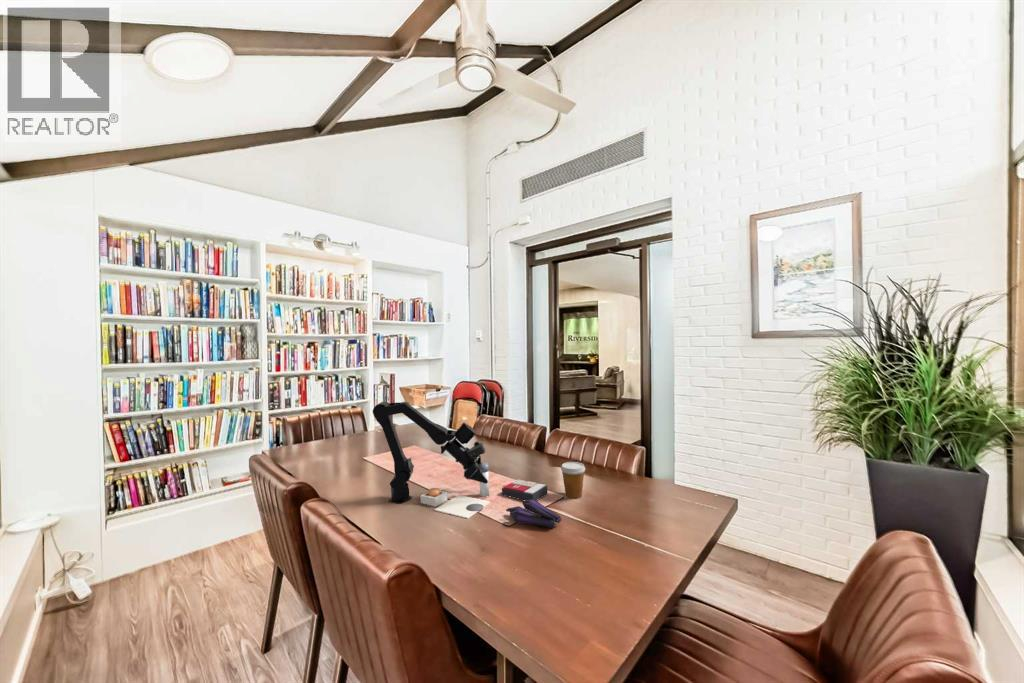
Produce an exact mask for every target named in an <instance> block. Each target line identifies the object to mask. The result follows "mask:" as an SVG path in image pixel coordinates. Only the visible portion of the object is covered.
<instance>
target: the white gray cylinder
mask: <svg viewBox="0 0 1024 683" xmlns="http://www.w3.org/2000/svg"><path fill="white" fill-rule="evenodd" d="M479 466H480V472H481V473H482V474H483V475H484V477H485V478H486V479H487V480H488V483H487V484H485V483H482V482H479V497H481V496H482V497H481V498H487V497H486V496H488V497H489V496H490V479H489V478H490V477H489V476H490V475H489V471H490V469H489V463H488V462H481V463H480V464H479Z"/></svg>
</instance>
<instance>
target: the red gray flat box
mask: <svg viewBox="0 0 1024 683" xmlns="http://www.w3.org/2000/svg"><path fill="white" fill-rule="evenodd" d="M501 493H502V494H503V495H502V494H501V495H502V496H504V495H507V496H506V497H508V496H511V497H510V498H512V497H515V498H519V499H518V500H520V499H522V500H521V501H523V500H530V499H534V500H537V499H539V498H541V497H542V496H544V495H545V496H547V495H548V494H549V493H548V485H547V484H542V483H537V482H534V481H527V480H522V479H516V480H514V481H511V482H510V483H508V484H506V485H504V486H503V487H502V488H501ZM547 493H548V494H547ZM546 494H547V495H546ZM545 496H544V497H545ZM515 498H514V499H515ZM542 498H543V497H542ZM542 498H541V499H542ZM539 500H540V499H539ZM537 501H538V500H537Z"/></svg>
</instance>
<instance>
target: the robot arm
mask: <svg viewBox="0 0 1024 683" xmlns="http://www.w3.org/2000/svg"><path fill="white" fill-rule="evenodd" d="M372 414H373V417H374V418H375V420H376V421H377V423H378V424H379V425H380V427H381V428H382V431H383V433H384V436H385V439H386V443H387V445H388V447H389V450H390V454H391V456H392V459H393V466H394V476H393V477H392V479H391V480H390V482H389V486H390V490H391V491H390V493H391V498H389V499H388V502H391V501H392V503H396V504H399V503H400V504H403V503H405V502H406V501H408V499H409V500H410V499H412V496H410V488H409V483H408V481H410V479H411V477H412V475H413V473H414V468H415V465H414V464H413V461H412V457H409V458H407V456H405V453H404V450H403V448H402V445H401V441H400V439H399V436H398V433H397V430H396V428H395V425H394V417H393V416H394V415H398V414H402V415H404V416H405V417H407V418H408V419H409V420H411V421H412V422H413V423H414V424H416V425H417V426H418V427H420V428H421V429H422V430H423V431H425V432H426V434H427V435H428V437H429V438H430V439H431V440H432V441H433V443H435V444H436V445H438V446H440V454H441V455H442V454H444V453H445V452H446V453H448V454H449V455H450V456H452V458H454V459H455V462H456V463H459V464H460V465H461V466H462V469H463V470H464V471H463V477H464V478H465V479H466V480H467V481H468V480H472V481H474V482H479V483H480V482H482V483H485V484H487V483H488V480H487V479H486V478H485V477H484V475H483V474H482V473H481V472H480V466H479V464H480V463H482V456H481V455H484V454H485V453H486V449H485V446H484V444H483V443H482V442H479V441H478V440H477V441H475V442H474V443H473V446H472V447H471V448H469V447H468V446H467V447H465V446H463V445H464V444H466V445H467V444H468V443H470V441H471V440H472V439H473V438H474V437H475V436H476V435H477V431H476V430H475V429H474V428H473V427H472V426H471V425H469V424H468V423H466V422H464V421H463V422H462V423H461V425H460V426H459V427H458V428H457V429H456V430H453V429H447V428H446V427H444V426H442V425H440V424H438V423H435V422H433V421H432V420H430V419H429V418H428V417H426V416H425V415H424V414H422V412H420V411H419V410H417V409H416V408H415V407H414V406H412V405H411V404H410V403H409V402H407V401H400V402H388V401H380V402H379V403H377V404H376V405H375V406H373V409H372ZM404 501H405V502H404Z"/></svg>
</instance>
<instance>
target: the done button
mask: <svg viewBox="0 0 1024 683" xmlns="http://www.w3.org/2000/svg"><path fill="white" fill-rule="evenodd" d="M440 491H441V490H440V488H439V487H432V488H429V489H428V490H427V492H428V496H431V497H437V496H438V495H440Z"/></svg>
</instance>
